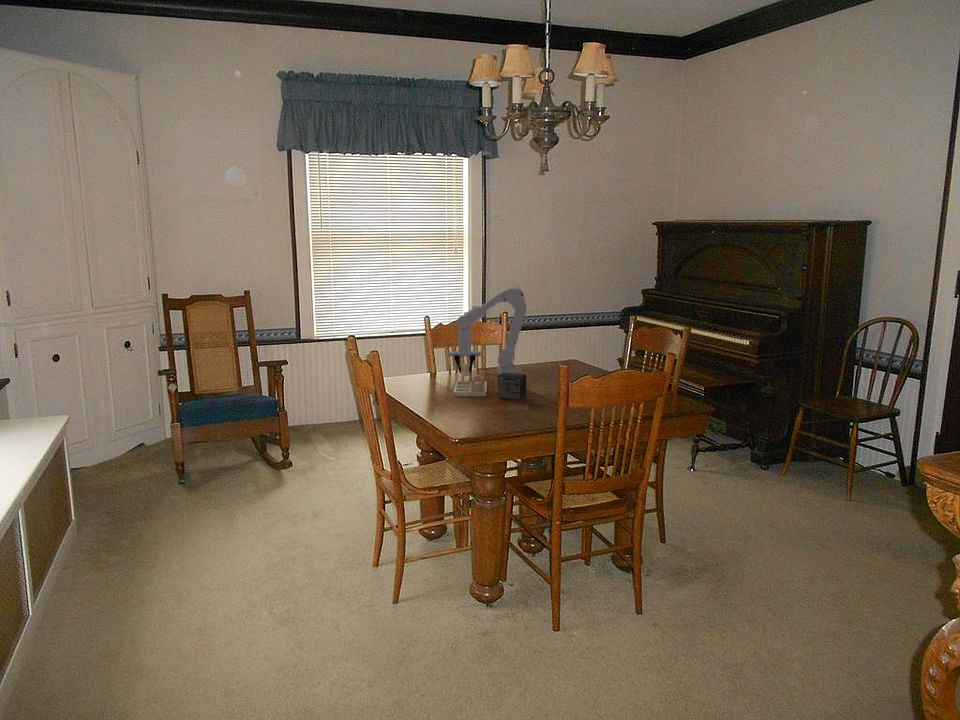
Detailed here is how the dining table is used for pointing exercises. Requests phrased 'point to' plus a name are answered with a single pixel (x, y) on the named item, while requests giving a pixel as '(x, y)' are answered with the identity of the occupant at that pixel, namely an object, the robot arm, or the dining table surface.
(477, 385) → the tan egg
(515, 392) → the small box
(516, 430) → the dining table surface
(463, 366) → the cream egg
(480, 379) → the tan egg
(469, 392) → the grey divided tray
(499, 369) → the robot arm
